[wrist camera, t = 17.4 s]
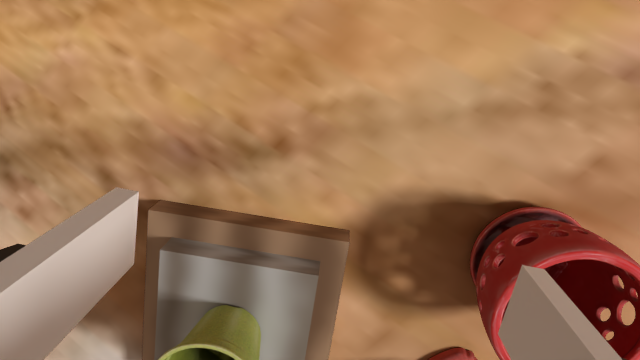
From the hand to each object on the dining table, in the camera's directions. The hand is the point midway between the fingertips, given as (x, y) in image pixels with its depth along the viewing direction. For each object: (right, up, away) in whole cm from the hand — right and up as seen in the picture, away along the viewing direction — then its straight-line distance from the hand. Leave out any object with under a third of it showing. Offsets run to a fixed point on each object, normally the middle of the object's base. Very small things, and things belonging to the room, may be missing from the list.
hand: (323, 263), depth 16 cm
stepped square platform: (-8, -10, +35) cm, 37 cm away
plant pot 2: (+21, -5, +32) cm, 38 cm away
